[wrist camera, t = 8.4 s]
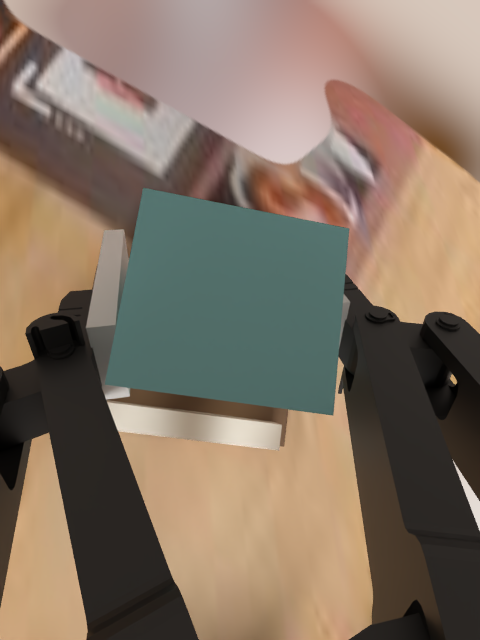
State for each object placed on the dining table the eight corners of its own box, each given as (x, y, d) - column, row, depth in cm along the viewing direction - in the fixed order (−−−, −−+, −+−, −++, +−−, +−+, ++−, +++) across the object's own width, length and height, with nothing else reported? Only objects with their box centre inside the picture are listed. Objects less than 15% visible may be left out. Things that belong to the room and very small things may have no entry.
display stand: (70, 418, 26) (52, 423, 22) (101, 272, 28) (89, 253, 24) (278, 443, 28) (295, 452, 24) (293, 305, 30) (311, 292, 26)
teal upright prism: (145, 387, 19) (104, 384, 8) (161, 297, 20) (143, 187, 9) (248, 401, 20) (332, 415, 9) (259, 313, 20) (349, 228, 10)
